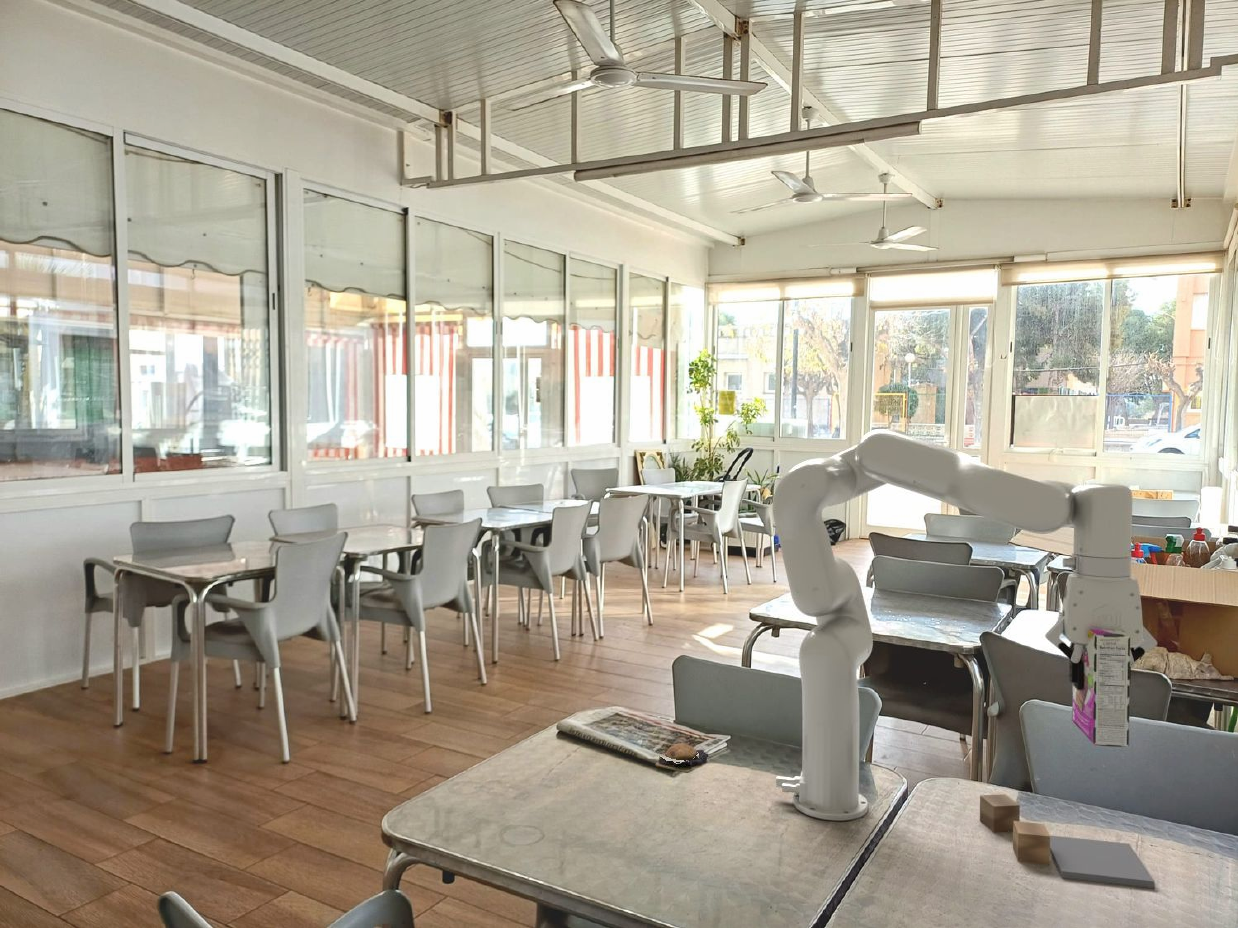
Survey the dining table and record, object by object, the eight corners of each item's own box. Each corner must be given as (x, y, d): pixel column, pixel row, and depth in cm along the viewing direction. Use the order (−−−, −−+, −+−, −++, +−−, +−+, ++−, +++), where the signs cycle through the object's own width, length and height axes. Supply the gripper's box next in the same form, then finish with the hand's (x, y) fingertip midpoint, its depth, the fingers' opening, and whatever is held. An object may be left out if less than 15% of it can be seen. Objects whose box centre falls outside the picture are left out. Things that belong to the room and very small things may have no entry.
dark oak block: (993, 833, 144) (993, 806, 144) (979, 821, 148) (980, 795, 148) (1019, 831, 144) (1019, 805, 144) (1004, 820, 148) (1005, 794, 148)
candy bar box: (1069, 721, 139) (1071, 616, 138) (1104, 723, 138) (1106, 617, 137) (1092, 746, 128) (1094, 632, 127) (1130, 748, 127) (1133, 634, 126)
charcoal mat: (1061, 877, 129) (1061, 870, 129) (1044, 840, 141) (1044, 834, 141) (1154, 888, 126) (1154, 881, 126) (1128, 849, 138) (1129, 843, 138)
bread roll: (689, 777, 169) (689, 758, 168) (651, 767, 173) (651, 749, 173) (714, 759, 178) (714, 741, 177) (677, 750, 182) (677, 733, 182)
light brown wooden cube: (1017, 861, 134) (1018, 832, 134) (1012, 848, 138) (1013, 820, 138) (1049, 865, 133) (1050, 836, 133) (1043, 852, 137) (1044, 823, 137)
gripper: (1044, 568, 130) (1041, 691, 131) (1175, 573, 126) (1172, 700, 127) (1034, 561, 138) (1032, 678, 138) (1158, 565, 133) (1155, 686, 134)
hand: (1099, 687), depth 132 cm, fingers closed on candy bar box, 5 cm apart
